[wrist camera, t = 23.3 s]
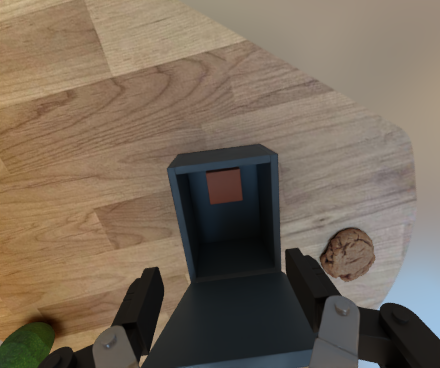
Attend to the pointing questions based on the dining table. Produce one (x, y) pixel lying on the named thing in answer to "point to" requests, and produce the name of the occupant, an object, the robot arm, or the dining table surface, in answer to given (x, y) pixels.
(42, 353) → the avocado
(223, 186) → the block
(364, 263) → the cookie
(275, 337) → the lid
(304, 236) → the dining table surface
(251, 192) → the chest
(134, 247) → the dining table surface
